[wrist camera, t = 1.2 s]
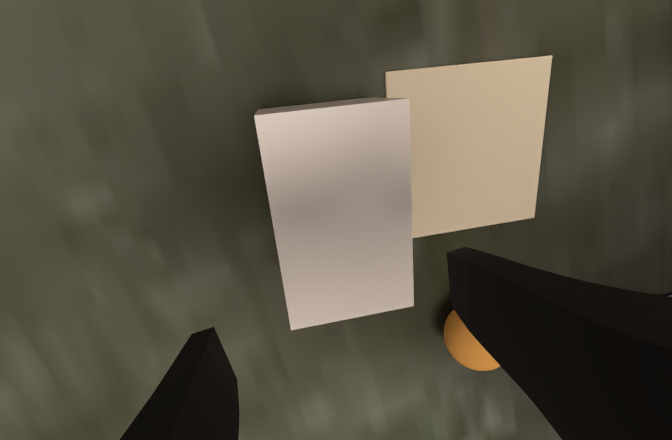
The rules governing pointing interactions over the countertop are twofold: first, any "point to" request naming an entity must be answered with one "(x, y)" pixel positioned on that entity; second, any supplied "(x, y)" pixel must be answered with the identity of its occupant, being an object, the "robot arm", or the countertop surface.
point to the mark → (474, 141)
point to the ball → (466, 345)
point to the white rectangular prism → (340, 206)
